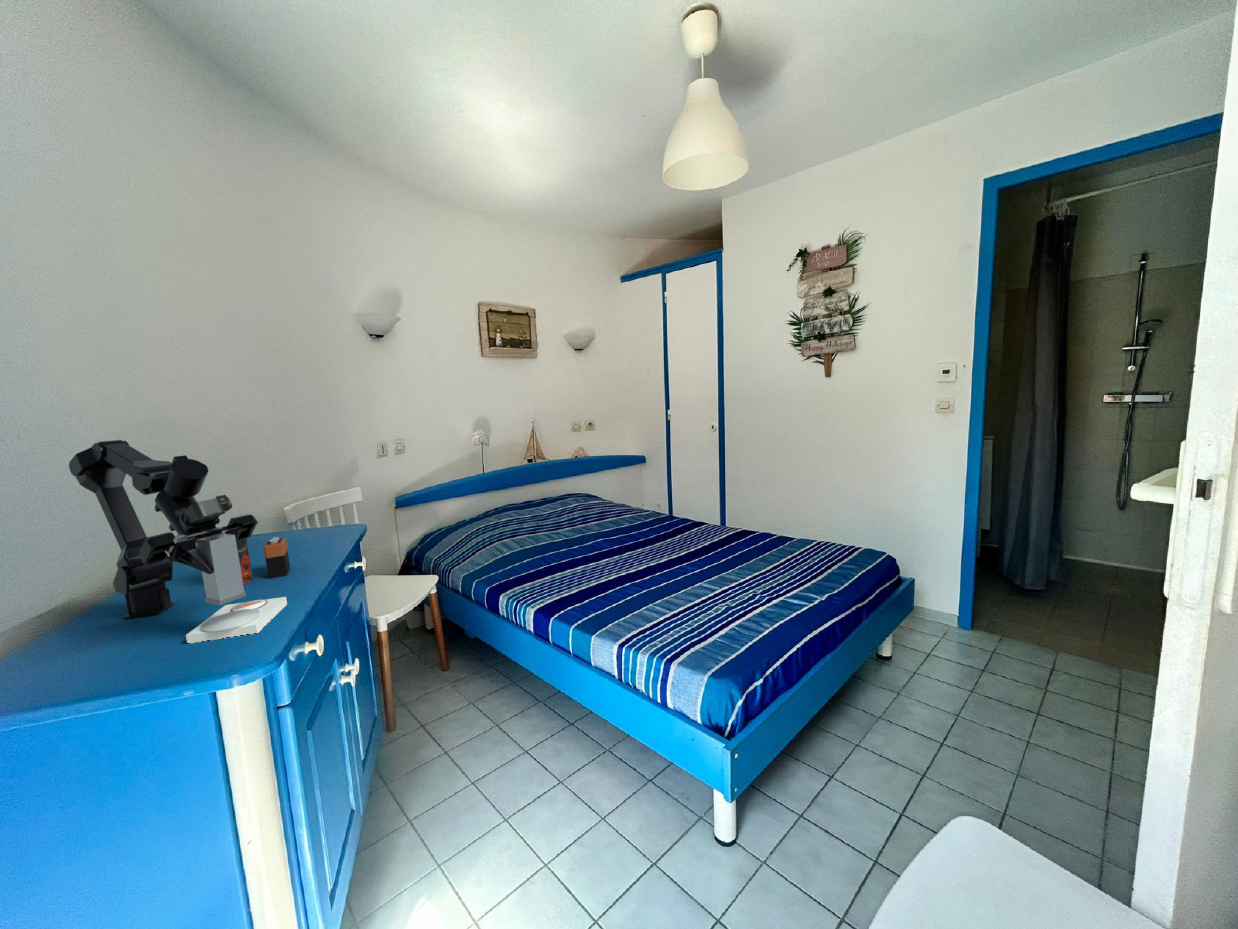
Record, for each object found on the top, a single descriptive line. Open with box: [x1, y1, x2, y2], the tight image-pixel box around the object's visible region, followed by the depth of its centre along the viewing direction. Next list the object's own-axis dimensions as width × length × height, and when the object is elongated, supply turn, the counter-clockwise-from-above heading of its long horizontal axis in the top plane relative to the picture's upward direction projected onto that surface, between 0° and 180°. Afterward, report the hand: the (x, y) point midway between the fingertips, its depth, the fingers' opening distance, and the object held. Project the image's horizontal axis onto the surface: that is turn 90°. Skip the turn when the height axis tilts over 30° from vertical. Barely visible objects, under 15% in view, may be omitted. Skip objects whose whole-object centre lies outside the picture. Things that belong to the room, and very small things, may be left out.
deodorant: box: [237, 539, 254, 585], centre depth 130 cm, size 6×6×15 cm
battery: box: [263, 536, 291, 579], centre depth 136 cm, size 4×7×10 cm, turn 27°
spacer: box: [196, 533, 247, 606], centre depth 100 cm, size 5×5×13 cm
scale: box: [185, 596, 288, 644], centre depth 105 cm, size 12×16×2 cm
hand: (225, 568), depth 100 cm, fingers closed on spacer, 4 cm apart
